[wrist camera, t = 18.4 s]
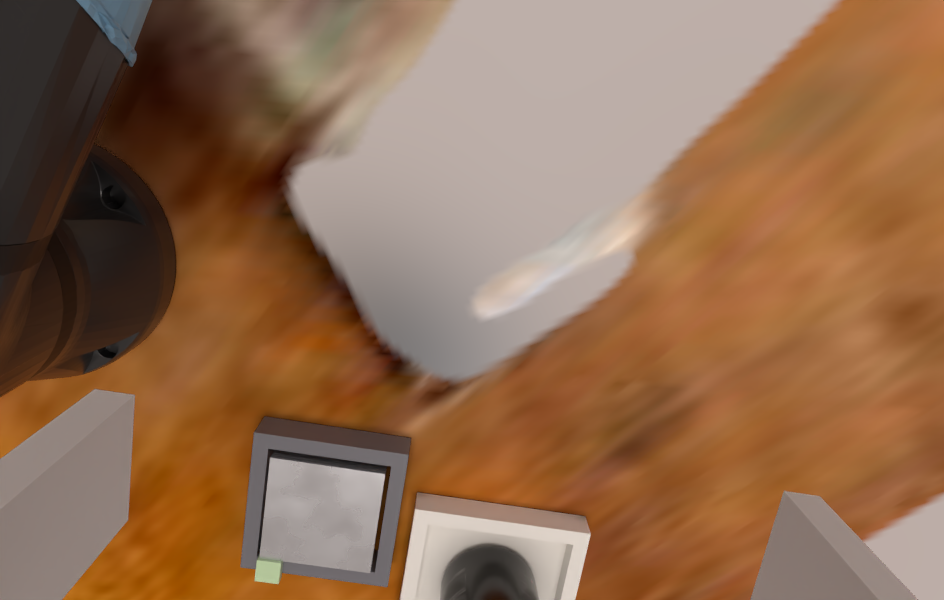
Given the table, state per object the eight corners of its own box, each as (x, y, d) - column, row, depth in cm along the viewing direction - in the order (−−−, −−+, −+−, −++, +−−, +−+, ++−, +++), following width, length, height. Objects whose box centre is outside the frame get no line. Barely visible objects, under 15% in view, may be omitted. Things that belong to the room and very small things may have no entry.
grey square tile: (264, 547, 48) (259, 558, 47) (274, 449, 46) (270, 457, 45) (372, 562, 48) (370, 573, 47) (386, 465, 47) (385, 474, 45)
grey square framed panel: (250, 549, 50) (236, 578, 47) (264, 416, 48) (250, 437, 44) (390, 568, 51) (385, 598, 48) (411, 438, 48) (407, 460, 45)
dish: (393, 636, 52) (390, 658, 50) (417, 492, 49) (415, 509, 47) (552, 657, 53) (556, 680, 51) (585, 516, 50) (590, 534, 48)
